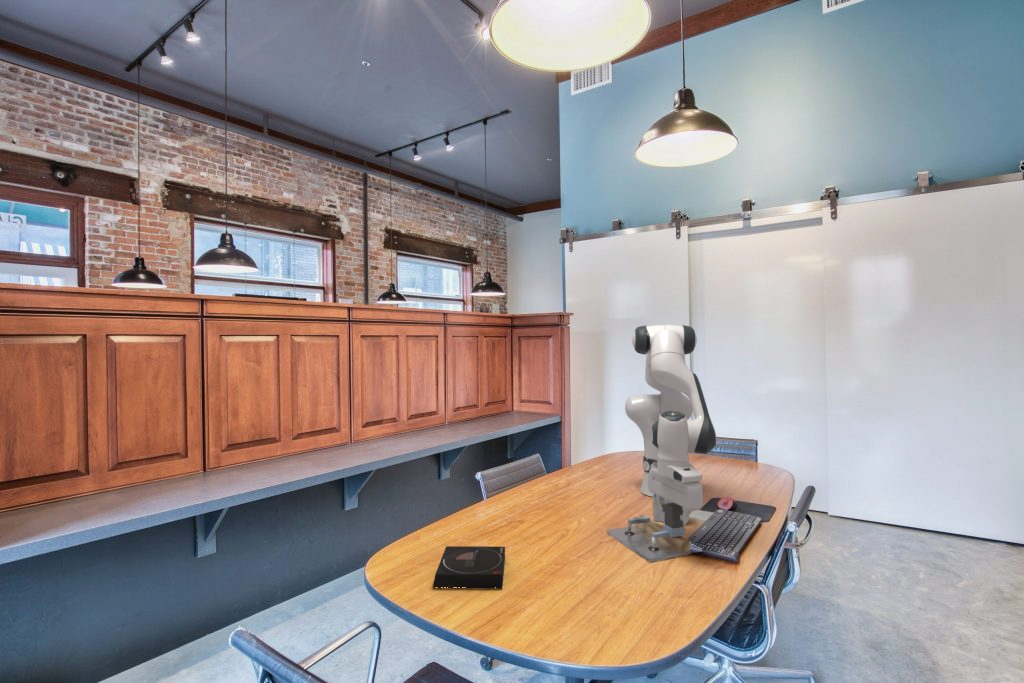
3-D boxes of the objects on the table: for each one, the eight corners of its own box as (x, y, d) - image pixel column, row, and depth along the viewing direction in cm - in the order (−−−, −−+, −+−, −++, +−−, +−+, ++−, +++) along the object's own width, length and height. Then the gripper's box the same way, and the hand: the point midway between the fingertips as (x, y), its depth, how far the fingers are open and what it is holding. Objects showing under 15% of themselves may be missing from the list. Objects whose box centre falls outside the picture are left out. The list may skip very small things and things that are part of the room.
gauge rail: (642, 524, 159) (642, 511, 159) (689, 551, 139) (689, 536, 139) (619, 528, 156) (619, 514, 156) (663, 556, 136) (663, 541, 136)
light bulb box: (688, 519, 167) (688, 487, 167) (686, 526, 160) (686, 492, 160) (655, 514, 171) (655, 483, 171) (652, 521, 165) (652, 489, 165)
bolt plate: (654, 525, 161) (654, 521, 161) (702, 552, 140) (702, 548, 140) (606, 533, 155) (606, 529, 155) (649, 562, 134) (649, 558, 134)
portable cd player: (443, 560, 137) (443, 546, 137) (505, 560, 137) (505, 546, 137) (432, 590, 121) (432, 574, 121) (502, 590, 120) (502, 574, 120)
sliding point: (675, 540, 146) (675, 501, 146) (684, 545, 142) (684, 506, 142) (648, 545, 142) (647, 505, 142) (656, 551, 138) (656, 510, 138)
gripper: (642, 461, 152) (642, 506, 152) (688, 478, 133) (688, 529, 133) (659, 459, 154) (659, 503, 154) (706, 476, 135) (707, 526, 135)
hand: (673, 515), depth 143 cm, fingers open, 8 cm apart
